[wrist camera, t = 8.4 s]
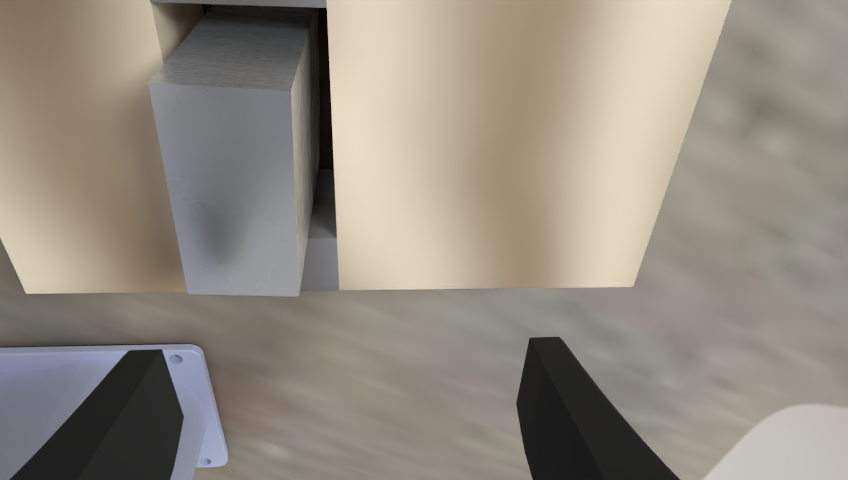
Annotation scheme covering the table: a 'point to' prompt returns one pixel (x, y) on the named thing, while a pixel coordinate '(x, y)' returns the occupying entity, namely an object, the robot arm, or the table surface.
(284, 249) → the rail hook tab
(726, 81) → the table surface
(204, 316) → the table surface
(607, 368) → the table surface
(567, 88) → the light wood flat block
